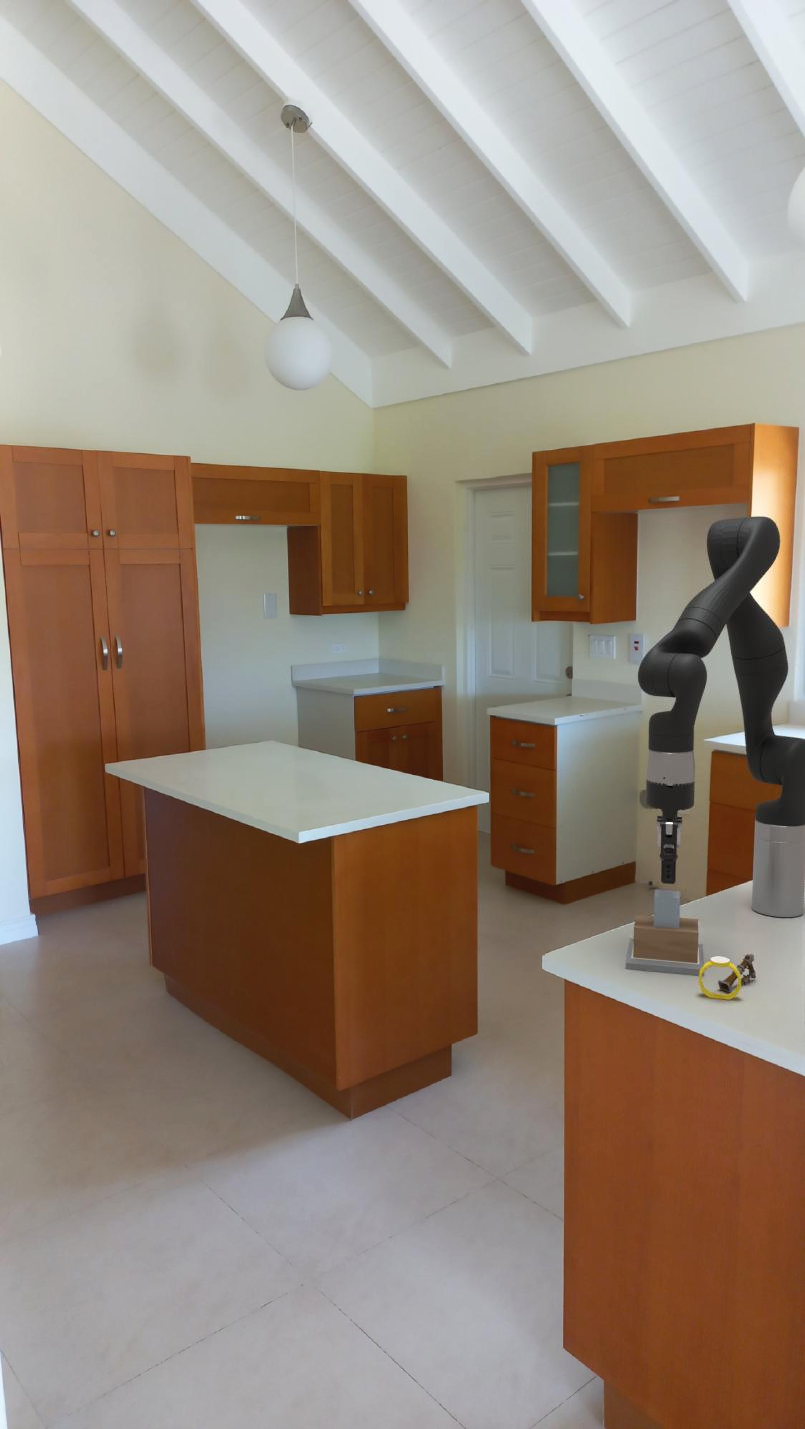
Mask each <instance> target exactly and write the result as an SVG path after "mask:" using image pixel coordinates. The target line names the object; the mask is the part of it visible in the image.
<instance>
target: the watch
mask: <svg viewBox="0 0 805 1429" xmlns="http://www.w3.org/2000/svg"><path fill="white" fill-rule="evenodd" d="M712 966H713V967H718V968H726V967H728V968H729V969H731V970H732V971H734V972H735V974H736V975H737V977H738V978H737V980H738V983H737V986H736V987H735V989H734V990H733V991H731V993H730V992H729V993H728V994H724V993H714V992H710V991H709V990H708V989H707V988H706V987H705V985H704V983H703V979H702V978H703V976H702V974H703V973H704V974H705V971H706V970H707V969H708V968H711V967H712ZM736 967H737V966H735V964H733V963H731V960H730V958H728V957H725V956H717V955H716V956H712V957H711V958H710V959H709V961H707V962H705V963H704V965H703V967H702V968H701V969H700V973H699V976H698V984H699V988H700V990H701V991H702V993H703V994H704V995H705V996H706V997H707V998H709V999H719V1000H727V1001H730V1000H732V999H733V998H735V997H737V996H738V995H739V992H740V990H741V988H742V985H741V978H742V975H740V973H739V971H738V969H737V968H736Z"/></svg>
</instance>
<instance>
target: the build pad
mask: <svg viewBox="0 0 805 1429" xmlns="http://www.w3.org/2000/svg"><path fill="white" fill-rule="evenodd" d="M633 945H634V937H631V938H630V937H629V940H628V948H627V955H626V961H625V969H626V970H634V971H647V972H656V973H664V974H665V973H667V974H677V975H678V974H679V975H686V976H687V975H688V976H689V975H690V976H698V977H699V973H700V969H701V968H702V967H703V965H704V964H705V959H704V958H705V957H704V945H703V944H701V943H698V963H688V962H677V961H666V960H655V959H644V958H633ZM702 977H705V972H704V973H703V974H702Z"/></svg>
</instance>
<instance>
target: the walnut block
mask: <svg viewBox="0 0 805 1429" xmlns="http://www.w3.org/2000/svg"><path fill="white" fill-rule="evenodd" d="M634 918H635V919H634V925H633V938H634V945H633V958H644V959H655V960H666V961H677V962H688V963H698V944H699V933H700V932H699V919H697V918H685V917H679V928H667V927H655V926H654V915H646V914H635V917H634Z"/></svg>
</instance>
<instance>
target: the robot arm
mask: <svg viewBox="0 0 805 1429" xmlns="http://www.w3.org/2000/svg"><path fill="white" fill-rule="evenodd" d="M780 534H781V533H780V531H779V528H778V525H777V524H776V522H775V521H774V520H773V519H772V518H770V517H768V516H763V515H762V516H759V515H758V516H747V517H746V516H744V517H733V518H725V519H719V520H716V521H715V522H712V523H711V525H710V527H709V528H708V531H707V535H706V551H707V558H708V561H709V566H710V568H711V570H710V571H711V573H712V577H713V579H714V581H712V582H711V583H710V584H709V585H707V586H706V587H705V588H703V589H702V590H700V591H699V592H698V593H697V594H696V595H694V597H693V598H692V599H691V600H690V601H689V602H688V603H687V604H686V606H685V607H684V609H683V610H682V612H681V614H680V616H679V618H678V619H677V620H676V623H675V625H674V627H673V628H672V629H671V630H670V631H669V632H668V633H666V635H664V636H663V637H662V638H661V639H660V640H659V641H658V642H657V643H656V644H655V645H653V646H652V647H651V648H650V649H649V650H648V651H647V653H646V654H645V656H644V657H643V658H642V659H641V662H640V664H639V667H638V670H637V671H638V672H637V682H638V684H639V687H640V690H642V692H643V693H645V694H646V695H649V696H652V697H661V698H662V697H663V698H674V699H675V701H674V703H673V706H672V708H671V710H665V711H660V712H655V713H653V714H652V715H651V716H650V717H649V720H648V749H647V758H646V770H645V771H646V774H645V775H646V776H645V786H646V787H645V804H646V805H647V807H649V808H651V809H654V810H660V811H661V812H662V814H661V815H656V816H657V818H656V830H657V846H658V847H659V848H660V853H659V859H660V861H661V863H660V865H661V867H660V871H661V872H660V873H661V874H660V876H661V877H660V881H661V883H662V884H669V885H674V884H675V883H676V879H677V878H676V875H677V874H676V873H677V872H676V871H677V866H676V865H677V859H678V858H679V856H678V849H679V848H680V847H681V832H682V831H683V816H680V815H679V816H678V812H679V811H686V810H689V809H692V808H693V807H694V806H695V784H696V781H695V778H696V760H695V750H694V747H695V743H694V742H695V724H696V719H697V715H698V713H699V709H700V706H701V702H702V698H703V694H704V692H705V690H706V689H705V688H706V685H707V681H708V670H707V667H706V665H705V662H704V661H703V658H705V657H707V656H708V655H709V654H710V653H711V651H712V650H713V648H714V647H715V646H716V645H715V644H716V643H717V641H718V639H719V638H720V635H721V634H722V632H723V630H724V628H725V627H726V630H727V636H728V642H729V647H730V656H731V660H732V665H733V666H732V667H733V669H734V670H733V671H734V674H735V678H736V683H737V688H738V695H739V700H740V704H741V712H742V713H741V714H742V719H743V729H744V730H743V731H744V743H745V752H746V755H745V756H746V762H747V766H748V769H749V772H750V775H751V776H752V777H753V779H754V780H756V781H757V782H760V783H763V784H769V785H770V784H771V785H775V786H780V787H781V793H780V795H779V797H777V799H774V800H773V799H772V800H767V801H763V802H760V803H758V804H757V805H756V807H755V811H754V812H755V813H754V814H755V815H754V842H753V867H752V869H753V870H752V890H751V891H752V892H751V894H752V895H751V909H752V910H754V911H755V912H756V913H759V914H761V915H765V916H770V917H777V918H795V917H800V916H801V915H803V914H804V911H805V908H804V907H805V738H802V737H794V736H787V735H777V734H775V732H774V727H773V722H772V721H773V719H772V712H773V709H774V708H773V707H774V704H775V702H776V700H777V698H778V697H779V694H780V692H781V691H782V690H783V687H784V685H785V682H786V680H787V677H788V674H789V663H788V662H789V660H788V655H787V650H786V644H785V640H784V635H783V633H782V631H781V630H780V627H778V625H777V624H776V622H775V621H774V620H773V618H772V617H771V616H770V615H769V614H768V613H767V611H765V609H763V607H762V606H761V605H760V604H759V602H757V601H756V599H755V598H754V596H753V594H752V593H751V592H752V590H754V588H755V587H756V585H757V584H758V583H759V582H760V581H761V579H762V578H763V577H764V576H765V575H766V574H767V572H769V570H770V569H771V568H772V566H773V565H774V563H775V561H776V559H777V557H778V555H779V552H780V548H781V535H780Z"/></svg>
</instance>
